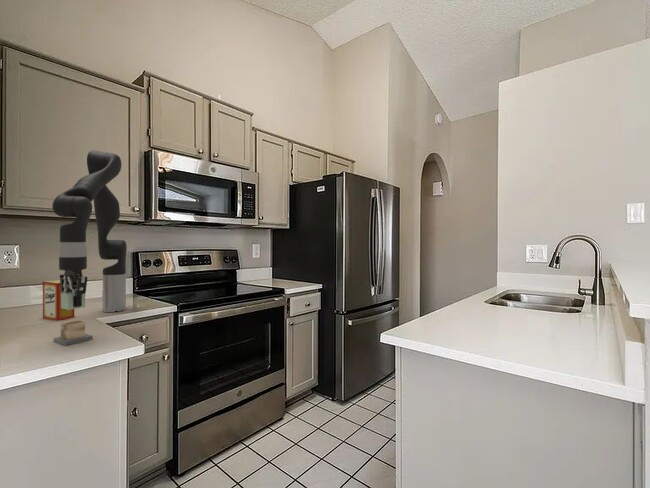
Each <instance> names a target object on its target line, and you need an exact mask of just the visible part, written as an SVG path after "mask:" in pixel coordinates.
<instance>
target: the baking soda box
mask: <svg viewBox="0 0 650 488" xmlns="http://www.w3.org/2000/svg"><path fill="white" fill-rule="evenodd" d="M61 293H64V292H62V291H61V284H60V279H57V280H56V279H55V280H46V281H45V280H44V281H42V319H43V320H49V321H57V322H59V321H63V320H68V319H72V318H75V309H71V310H66V309H63V308H61Z"/></svg>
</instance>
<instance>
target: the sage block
mask: <svg viewBox="0 0 650 488" xmlns="http://www.w3.org/2000/svg"><path fill="white" fill-rule="evenodd" d="M61 308H63V309H66V310H71V309H74V310H75V309H76V310H77V309H83V308H86V293H85V294H83V295H82V306H80V307H74V306H73V292H67V293H61Z"/></svg>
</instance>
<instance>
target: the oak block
mask: <svg viewBox="0 0 650 488" xmlns="http://www.w3.org/2000/svg"><path fill="white" fill-rule="evenodd" d="M85 334H86V321H84V320H81V319H74V320H70V321H69V320H68V321H65V322H63V321H62V322H60V337H61V338H63V339H66V340H71V339H76V338H80V337H84V336H85Z"/></svg>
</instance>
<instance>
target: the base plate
mask: <svg viewBox="0 0 650 488" xmlns="http://www.w3.org/2000/svg"><path fill="white" fill-rule="evenodd" d="M91 340H94V339H93V335H91V334H87V333H85V336H84V337H80V338H76V339H71V340H66V339H63V338H61V336H57V337H54V338H53V342H54V343H57V344H59V345H61V346H64V347H66V346H70V345H74V344H79V343H82V342H87V341H91Z"/></svg>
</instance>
